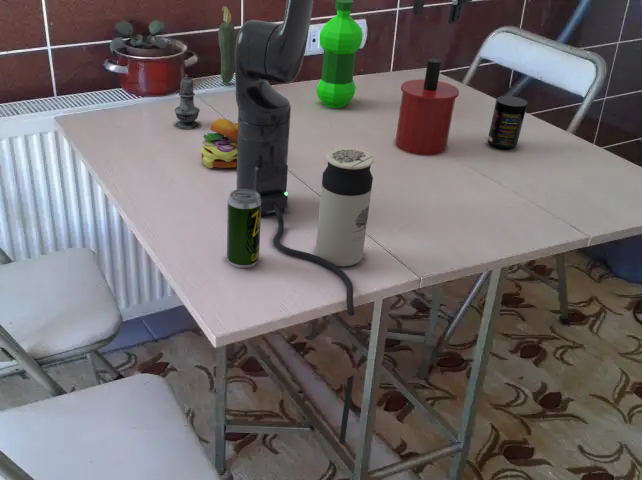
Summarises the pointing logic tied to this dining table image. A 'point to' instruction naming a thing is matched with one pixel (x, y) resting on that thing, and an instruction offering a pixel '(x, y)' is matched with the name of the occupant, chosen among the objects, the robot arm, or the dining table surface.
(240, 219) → the beer can
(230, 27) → the vegetable
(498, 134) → the supplement container
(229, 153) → the cheeseburger
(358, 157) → the travel mug
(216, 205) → the dining table surface
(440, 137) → the canister
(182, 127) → the salt shaker
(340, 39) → the plastic bottle
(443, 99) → the lid
